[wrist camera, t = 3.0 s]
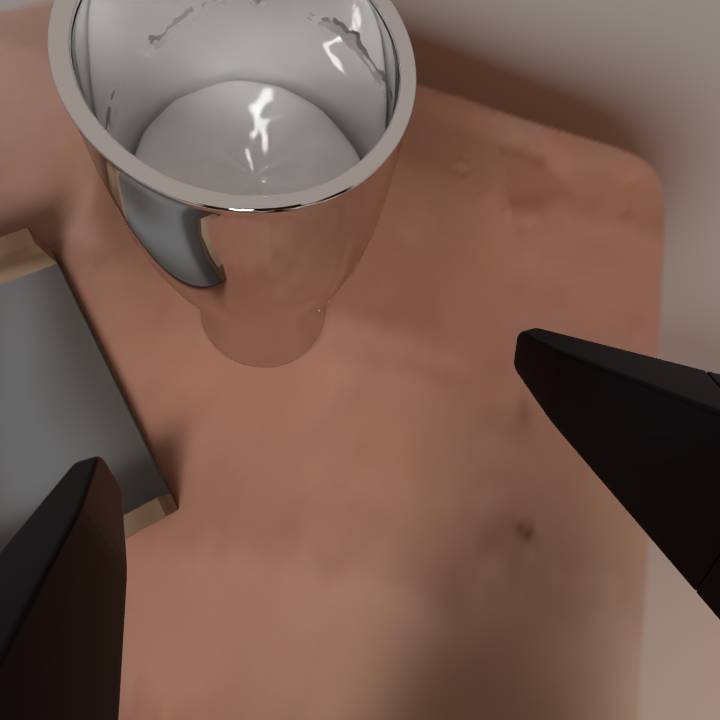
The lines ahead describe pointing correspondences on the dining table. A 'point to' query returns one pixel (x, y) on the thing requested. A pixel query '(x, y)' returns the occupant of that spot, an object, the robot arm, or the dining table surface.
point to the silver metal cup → (242, 147)
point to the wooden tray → (61, 396)
